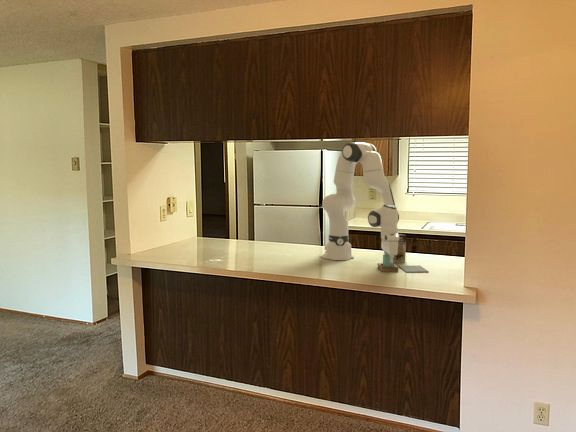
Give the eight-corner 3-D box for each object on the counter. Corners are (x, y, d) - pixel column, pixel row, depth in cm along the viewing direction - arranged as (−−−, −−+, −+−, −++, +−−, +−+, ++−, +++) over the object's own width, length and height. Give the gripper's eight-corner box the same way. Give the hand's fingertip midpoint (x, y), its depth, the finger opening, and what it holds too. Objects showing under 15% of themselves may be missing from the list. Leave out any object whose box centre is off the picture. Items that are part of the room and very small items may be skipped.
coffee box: (390, 263, 281) (391, 235, 279) (386, 260, 287) (387, 233, 285) (405, 262, 283) (406, 234, 281) (401, 260, 289) (401, 233, 287)
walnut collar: (377, 268, 269) (377, 263, 268) (393, 267, 269) (393, 263, 269) (381, 271, 260) (381, 267, 260) (398, 271, 260) (398, 267, 260)
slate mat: (398, 266, 272) (398, 265, 272) (420, 266, 273) (420, 265, 272) (406, 272, 258) (406, 271, 258) (428, 272, 259) (428, 271, 259)
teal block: (382, 268, 267) (383, 254, 266) (390, 268, 267) (391, 254, 266) (384, 270, 262) (385, 256, 261) (393, 270, 262) (393, 256, 261)
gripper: (378, 232, 272) (378, 256, 274) (388, 238, 252) (387, 264, 254) (389, 232, 273) (389, 256, 274) (400, 238, 252) (399, 264, 254)
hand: (388, 260), depth 264 cm, fingers open, 8 cm apart
